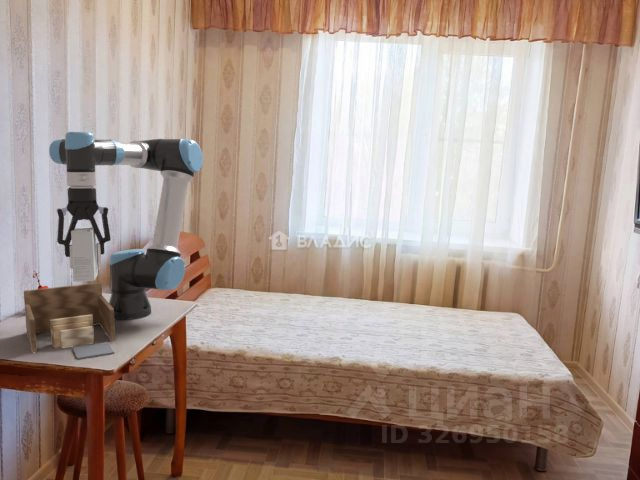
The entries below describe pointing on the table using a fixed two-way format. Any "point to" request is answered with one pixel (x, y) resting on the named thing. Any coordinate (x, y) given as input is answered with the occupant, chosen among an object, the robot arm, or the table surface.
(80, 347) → the grey rubber mat
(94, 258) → the skincare box
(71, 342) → the offcut bundle
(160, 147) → the robot arm
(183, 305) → the table surface
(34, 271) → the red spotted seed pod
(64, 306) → the walnut rack
